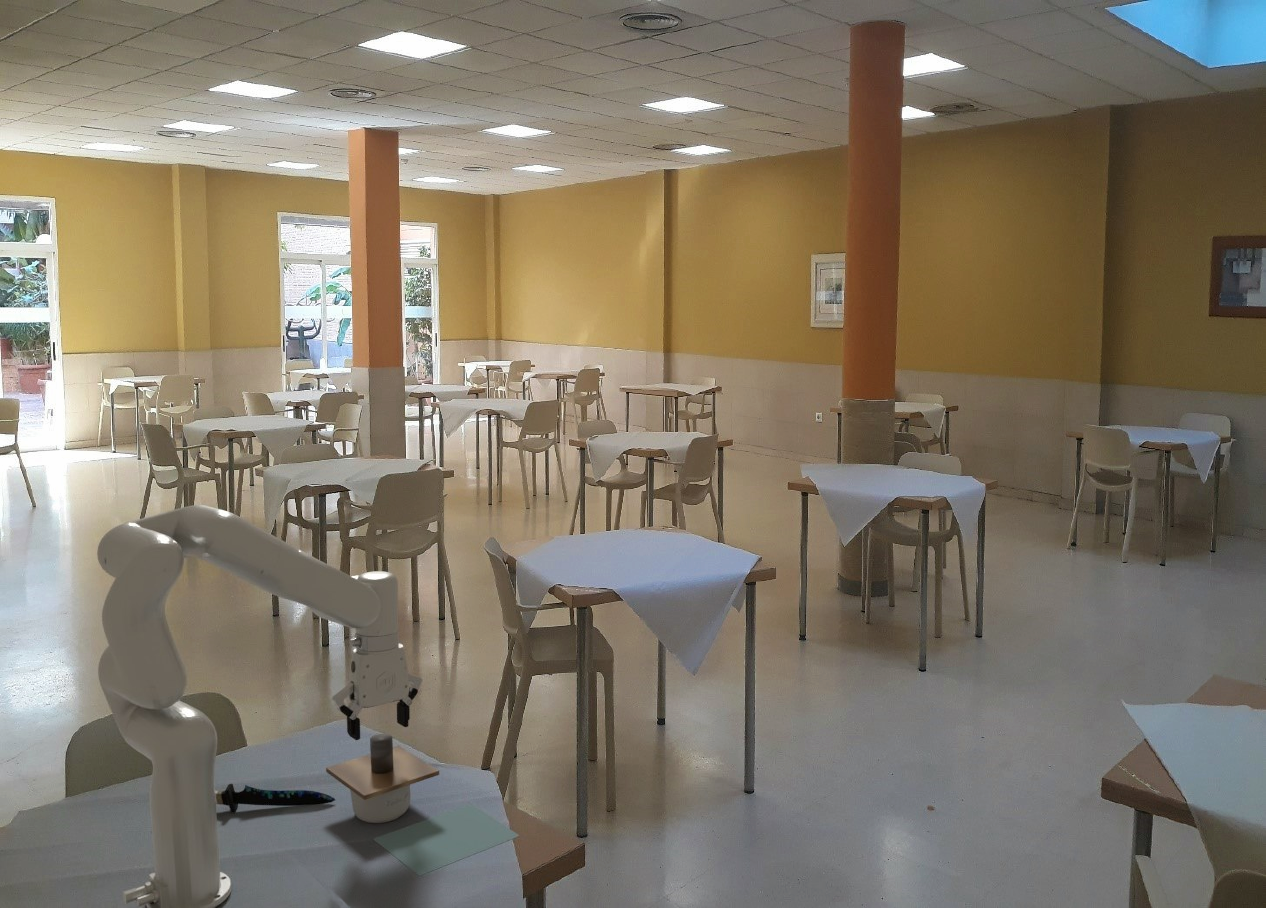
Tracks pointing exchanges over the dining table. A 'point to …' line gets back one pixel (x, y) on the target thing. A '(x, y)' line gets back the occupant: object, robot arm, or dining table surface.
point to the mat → (445, 839)
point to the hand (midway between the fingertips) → (379, 731)
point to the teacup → (382, 805)
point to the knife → (269, 797)
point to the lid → (381, 769)
